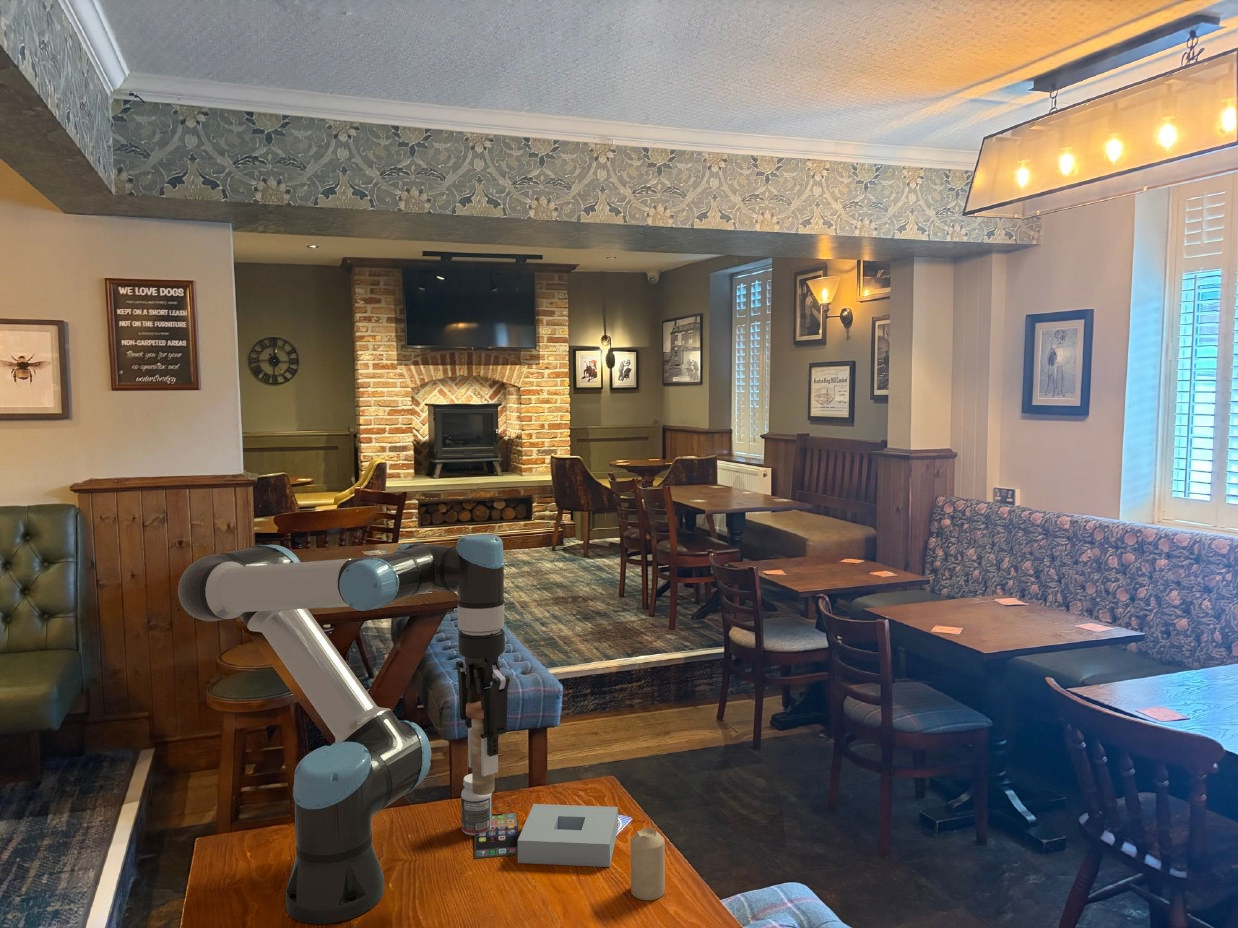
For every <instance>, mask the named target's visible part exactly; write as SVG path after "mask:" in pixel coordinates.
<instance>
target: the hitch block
mask: <svg viewBox="0 0 1238 928" xmlns="http://www.w3.org/2000/svg"><path fill="white" fill-rule="evenodd" d="M618 829H619V807H618V806H601V805H599V806H597V805H595V806H594V805H576V804H575V805H573V804H570V805H569V804H549V803H548V804H546V803H542V804H541V803H533V804H532V807H531V809H530V811H529V814H528V816H527V818H526V821H525V823H524V825H523V827H522V829H521V832H520V833H519V838H518V855H517V864H535V865H537V864H538V865H555V866H556V865H557V866H558V865H559V866H560V865H561V866H577V867H579V866H580V867H581V866H582V867H599V868H601V867H604V868H605V867H606V868H610V867H611V863H612V859H613V858H612V857H613V854H614V849H615V844H616V839H617V835H618Z"/></svg>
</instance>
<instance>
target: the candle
mask: <svg viewBox="0 0 1238 928" xmlns="http://www.w3.org/2000/svg"><path fill="white" fill-rule="evenodd" d="M665 845H666V844H665V838H664V837H663V835H661V834H660V833H659V832H658V831H657V830H656V829H654V827H644V828H642V829H641V830H637V831H636V833H635V834H634V835H633V836H632V837H631V838H630V891H631V894H632V895H633V897H635V898H636V899H639V900H642V901H655V900H658V899H660V898H661V897H663V896H664V895H665V891H666V872H665V871H666V866H665V865H666V863H665V859H666V854H665V853H666V849H665Z"/></svg>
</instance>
